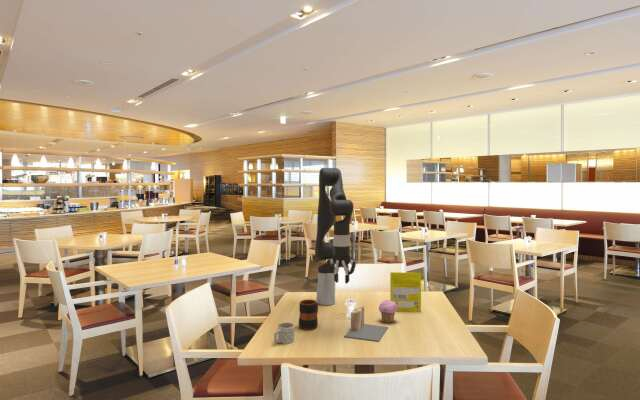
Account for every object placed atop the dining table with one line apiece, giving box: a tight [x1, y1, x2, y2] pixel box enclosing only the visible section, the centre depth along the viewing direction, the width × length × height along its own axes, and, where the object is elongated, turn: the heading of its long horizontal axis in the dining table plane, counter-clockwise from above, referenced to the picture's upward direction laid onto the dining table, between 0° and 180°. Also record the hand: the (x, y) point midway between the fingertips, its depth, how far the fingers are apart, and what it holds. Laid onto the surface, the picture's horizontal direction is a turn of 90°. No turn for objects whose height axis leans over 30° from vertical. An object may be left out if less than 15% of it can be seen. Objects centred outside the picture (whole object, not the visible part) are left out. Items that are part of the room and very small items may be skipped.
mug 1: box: [273, 322, 295, 345], centre depth 179 cm, size 10×7×7 cm
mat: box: [343, 323, 389, 343], centre depth 190 cm, size 15×18×1 cm
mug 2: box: [298, 299, 319, 331], centre depth 198 cm, size 9×12×12 cm
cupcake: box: [378, 299, 398, 323], centre depth 204 cm, size 9×9×10 cm
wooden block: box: [350, 305, 365, 331], centre depth 195 cm, size 3×8×10 cm
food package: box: [389, 271, 422, 313], centre depth 219 cm, size 15×1×20 cm, turn 84°
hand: (341, 282), depth 193 cm, fingers open, 4 cm apart
